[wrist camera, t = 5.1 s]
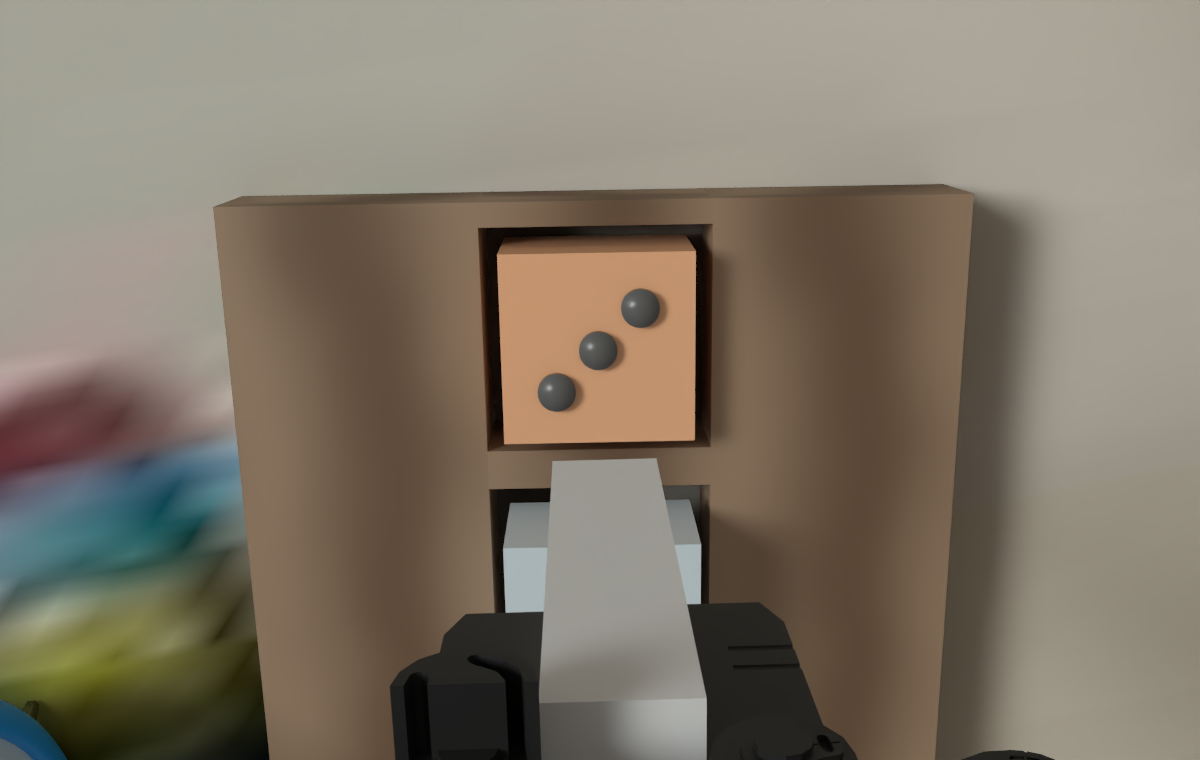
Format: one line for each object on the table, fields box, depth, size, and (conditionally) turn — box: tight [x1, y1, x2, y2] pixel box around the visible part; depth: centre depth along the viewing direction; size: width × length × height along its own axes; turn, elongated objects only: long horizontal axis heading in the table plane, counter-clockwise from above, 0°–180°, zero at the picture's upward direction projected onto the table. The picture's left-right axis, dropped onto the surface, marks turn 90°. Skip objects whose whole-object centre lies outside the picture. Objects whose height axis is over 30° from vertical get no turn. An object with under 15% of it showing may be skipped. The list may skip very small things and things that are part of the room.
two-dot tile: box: [503, 499, 701, 613], centre depth 29 cm, size 5×5×3 cm
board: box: [213, 184, 974, 760], centre depth 31 cm, size 18×20×2 cm
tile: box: [497, 234, 696, 444], centre depth 28 cm, size 5×5×3 cm
